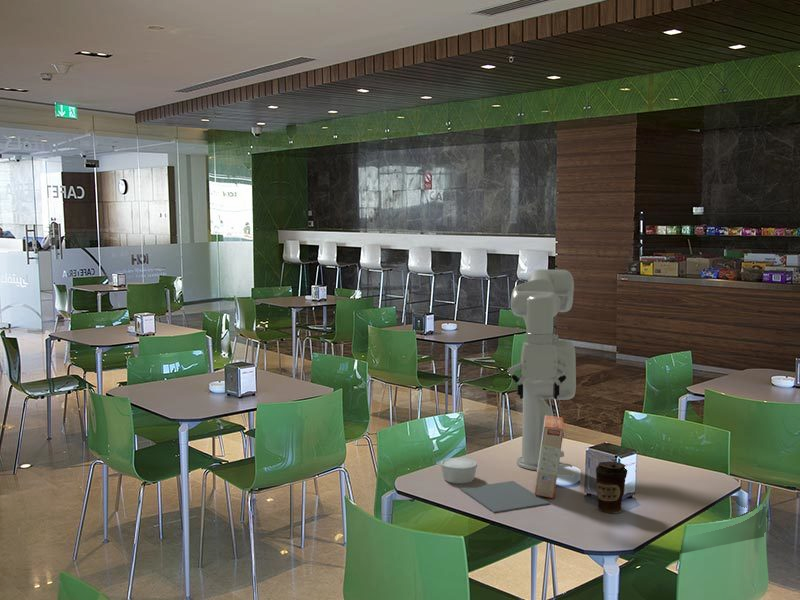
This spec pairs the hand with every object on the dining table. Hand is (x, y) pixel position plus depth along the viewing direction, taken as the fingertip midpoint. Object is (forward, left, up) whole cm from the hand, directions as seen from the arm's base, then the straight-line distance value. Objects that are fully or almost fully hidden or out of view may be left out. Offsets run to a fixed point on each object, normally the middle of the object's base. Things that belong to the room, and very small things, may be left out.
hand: (538, 397), depth 224 cm
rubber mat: (+9, -3, -29) cm, 31 cm away
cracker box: (-5, -3, -29) cm, 30 cm away
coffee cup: (-13, +17, -29) cm, 36 cm away
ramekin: (+14, -22, -30) cm, 39 cm away
